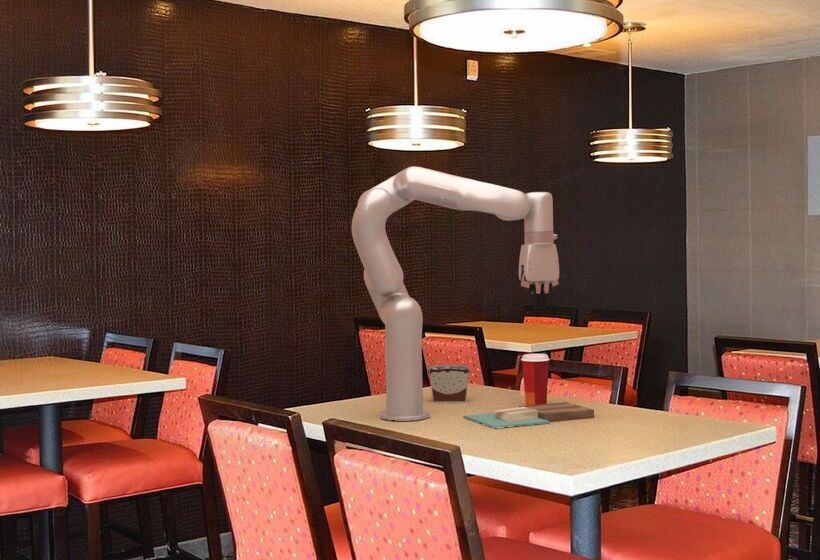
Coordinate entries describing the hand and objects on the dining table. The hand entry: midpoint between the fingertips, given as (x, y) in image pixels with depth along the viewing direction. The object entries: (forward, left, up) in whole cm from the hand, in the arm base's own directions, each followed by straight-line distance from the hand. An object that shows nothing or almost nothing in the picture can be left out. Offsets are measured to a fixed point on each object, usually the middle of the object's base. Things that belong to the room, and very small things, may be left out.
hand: (540, 308), depth 274 cm
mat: (+9, -16, -27) cm, 32 cm away
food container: (-28, -14, -27) cm, 42 cm away
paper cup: (-7, +2, -27) cm, 28 cm away
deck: (+9, -1, -27) cm, 29 cm away
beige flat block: (+10, -13, -26) cm, 30 cm away
